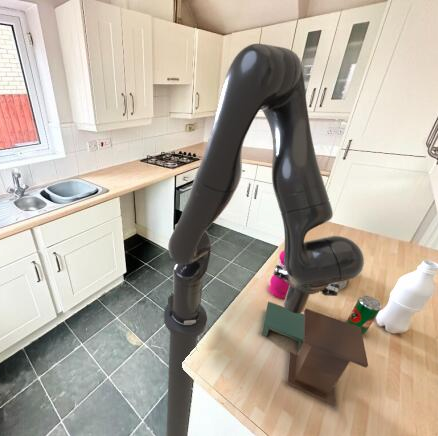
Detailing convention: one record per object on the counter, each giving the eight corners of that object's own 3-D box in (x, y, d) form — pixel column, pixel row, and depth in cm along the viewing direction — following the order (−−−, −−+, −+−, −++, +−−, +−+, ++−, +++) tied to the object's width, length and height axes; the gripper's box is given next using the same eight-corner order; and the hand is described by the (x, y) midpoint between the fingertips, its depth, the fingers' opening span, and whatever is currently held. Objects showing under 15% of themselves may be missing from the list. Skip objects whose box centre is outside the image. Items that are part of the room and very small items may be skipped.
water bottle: (367, 320, 78) (405, 258, 66) (383, 314, 80) (422, 253, 68) (394, 339, 72) (440, 275, 60) (410, 332, 74) (458, 268, 62)
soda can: (361, 338, 72) (378, 310, 66) (341, 326, 76) (356, 299, 70) (368, 330, 74) (385, 302, 69) (349, 318, 78) (364, 291, 73)
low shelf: (260, 335, 74) (263, 324, 72) (264, 311, 81) (268, 301, 79) (305, 354, 68) (310, 342, 66) (306, 327, 76) (310, 316, 74)
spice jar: (282, 309, 69) (292, 279, 64) (283, 297, 73) (293, 268, 68) (303, 316, 66) (315, 286, 61) (303, 303, 70) (315, 274, 65)
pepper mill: (264, 291, 89) (277, 247, 80) (272, 282, 94) (285, 239, 84) (284, 303, 85) (300, 257, 75) (292, 292, 89) (308, 247, 79)
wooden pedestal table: (284, 384, 62) (304, 339, 53) (287, 352, 69) (305, 308, 60) (336, 410, 56) (368, 365, 48) (333, 372, 64) (360, 327, 55)
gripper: (353, 271, 50) (335, 281, 65) (277, 249, 58) (276, 262, 72) (344, 305, 49) (327, 308, 63) (268, 278, 57) (269, 286, 71)
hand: (300, 284), depth 68 cm, fingers closed on spice jar, 5 cm apart
